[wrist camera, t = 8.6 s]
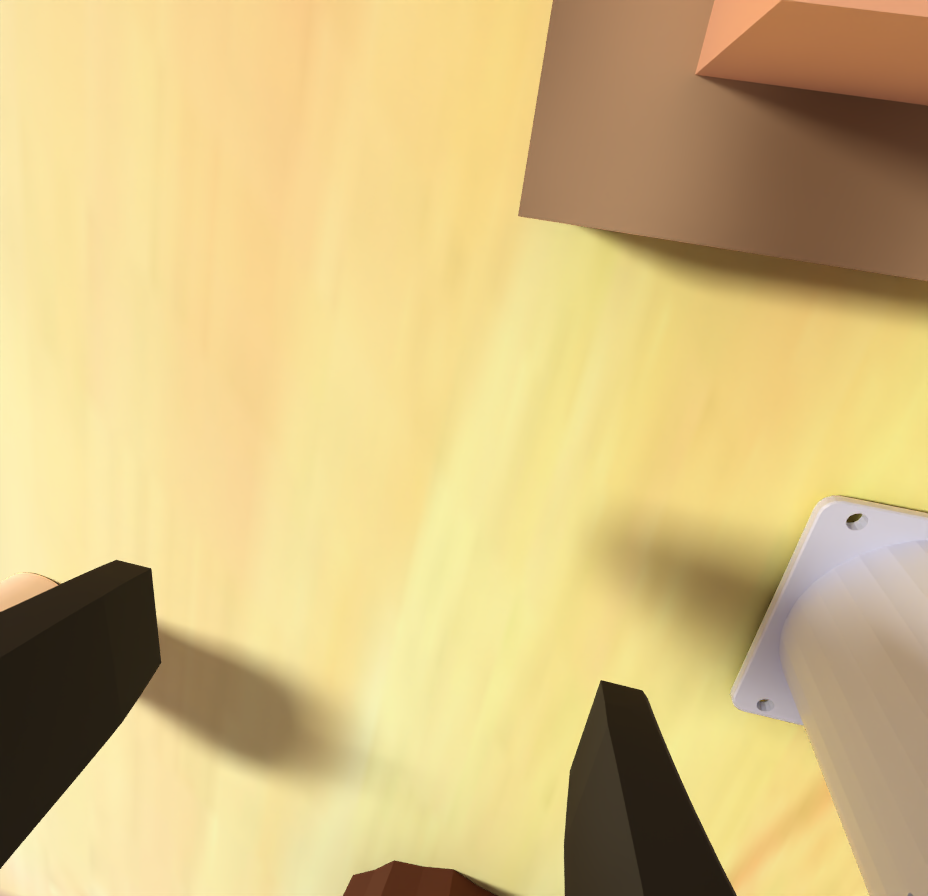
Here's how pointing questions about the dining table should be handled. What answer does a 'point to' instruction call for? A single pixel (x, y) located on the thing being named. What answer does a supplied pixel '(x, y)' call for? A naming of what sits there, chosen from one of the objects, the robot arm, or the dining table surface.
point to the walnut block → (718, 148)
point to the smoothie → (22, 588)
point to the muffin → (412, 882)
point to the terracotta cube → (822, 46)
